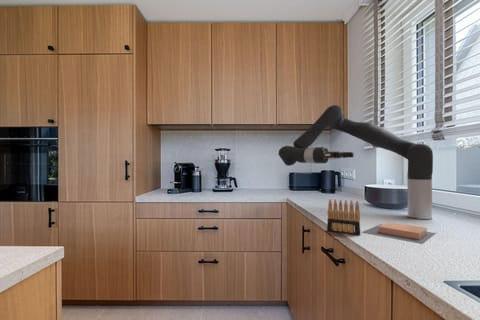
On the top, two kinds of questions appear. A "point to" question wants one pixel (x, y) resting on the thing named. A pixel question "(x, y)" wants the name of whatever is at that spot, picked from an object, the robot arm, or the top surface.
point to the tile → (403, 230)
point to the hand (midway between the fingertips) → (352, 154)
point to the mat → (375, 232)
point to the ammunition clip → (343, 218)
